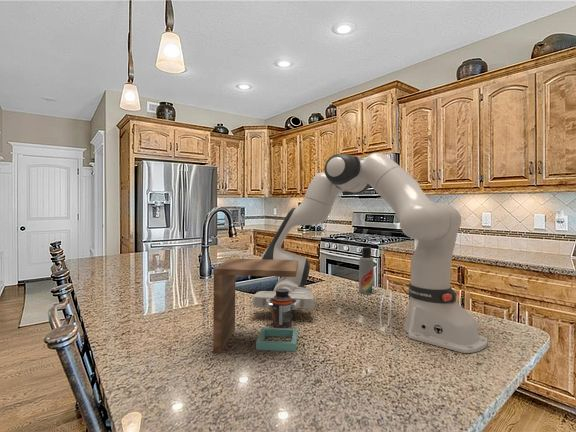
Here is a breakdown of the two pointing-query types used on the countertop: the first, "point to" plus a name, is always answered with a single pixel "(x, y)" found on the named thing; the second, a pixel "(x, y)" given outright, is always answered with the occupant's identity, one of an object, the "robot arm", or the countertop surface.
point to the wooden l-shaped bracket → (226, 290)
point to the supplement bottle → (282, 308)
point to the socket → (277, 344)
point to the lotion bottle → (366, 272)
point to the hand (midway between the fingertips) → (281, 307)
